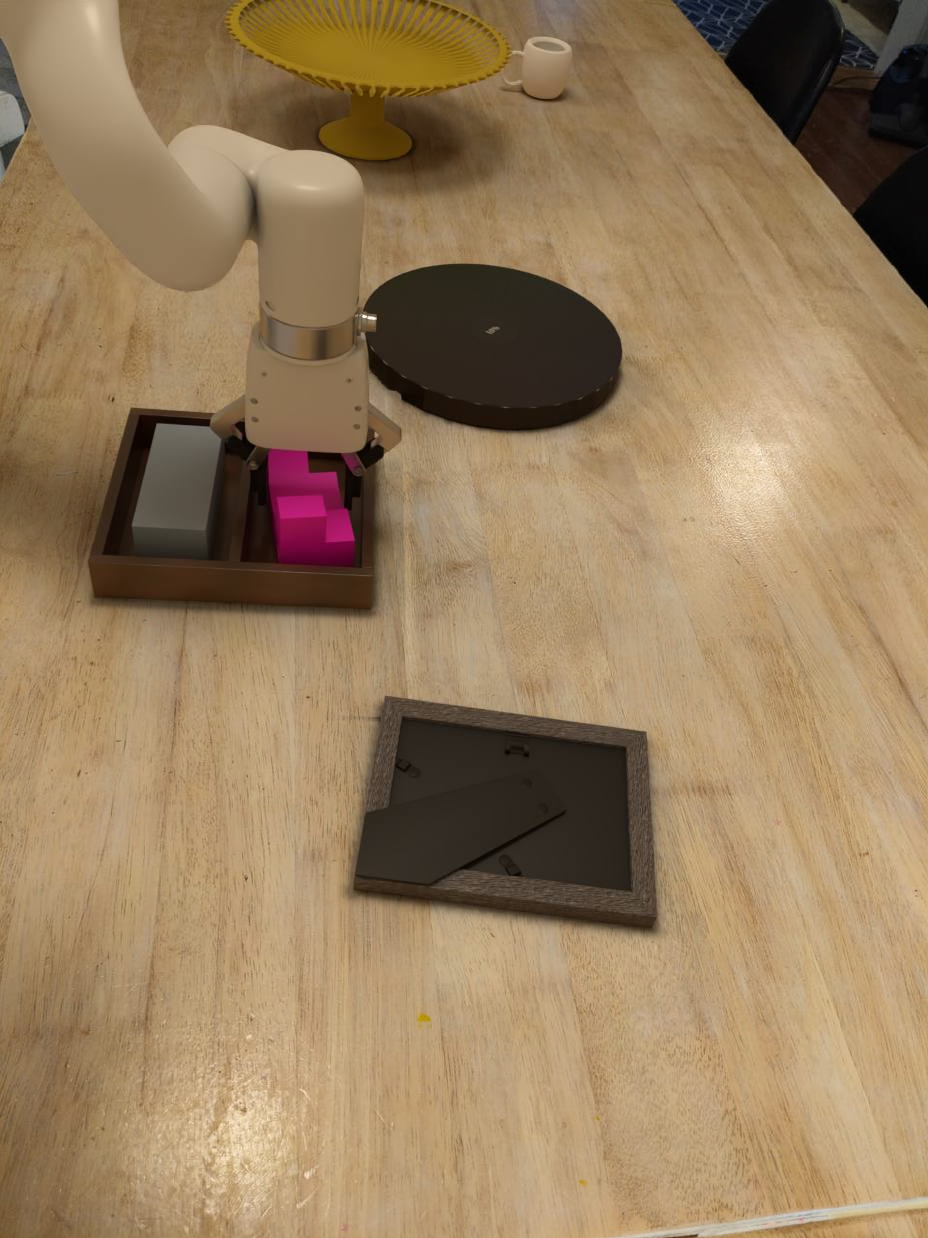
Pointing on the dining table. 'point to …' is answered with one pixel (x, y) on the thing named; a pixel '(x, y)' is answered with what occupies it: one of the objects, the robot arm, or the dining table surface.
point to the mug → (543, 67)
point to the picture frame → (510, 813)
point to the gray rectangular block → (180, 494)
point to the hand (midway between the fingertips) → (306, 496)
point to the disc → (491, 345)
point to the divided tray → (225, 536)
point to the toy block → (307, 513)
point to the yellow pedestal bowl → (370, 62)
